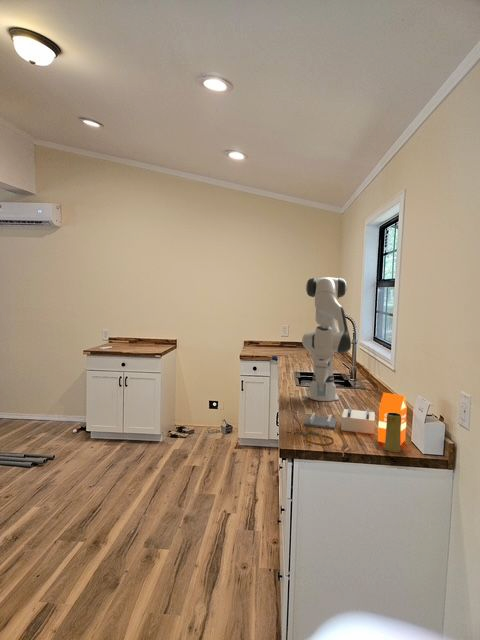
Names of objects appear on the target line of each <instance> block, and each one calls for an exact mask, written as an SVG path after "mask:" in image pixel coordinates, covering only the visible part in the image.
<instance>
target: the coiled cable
mask: <svg viewBox="0 0 480 640" xmlns="http://www.w3.org/2000/svg"><path fill="white" fill-rule="evenodd" d="M309 433H310V434H309ZM299 434H300V435H302V436H303V435H304V437H305V441H306V442H308V443H311V444H313V445H317V446H331V445H332V444H333V443H334V438H333V437H332V436H328V435H325V434H321V433H319V432H318V431H315V430H312V429H311V430H309V431H308V433H307V432H306V431H304V430H300V431H299ZM311 435H312V436H321V437H324V438H328V439H331V442H328V443H319V442H313V441H311V440H309V438H310V436H311ZM333 445H334V444H333Z"/></svg>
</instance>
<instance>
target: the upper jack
mask: <svg viewBox="0 0 480 640" xmlns="http://www.w3.org/2000/svg"><path fill="white" fill-rule="evenodd" d="M375 413H376V412H375V411H370V407H366V410H358V409H352V405H349V406H348V408H344V409H343V412H342V415H341V424H340V425H341V427H340V428H341V431H347V432H354V433H362V434H370V435H375V424H376V422H375V421H376V420H375V419H376V417H375V416H376V414H375Z"/></svg>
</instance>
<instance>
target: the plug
mask: <svg viewBox="0 0 480 640" xmlns="http://www.w3.org/2000/svg"><path fill="white" fill-rule="evenodd" d="M326 395H327V382H324V385H323V391H319V384H318V383H317V396H324V397H326Z"/></svg>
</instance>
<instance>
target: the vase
mask: <svg viewBox="0 0 480 640" xmlns="http://www.w3.org/2000/svg"><path fill="white" fill-rule="evenodd" d="M401 446H402V444H401V414H399V413H394V412H389V413H387V424H386V437H385V443H384V447H383V448H384V450H385V451H387V452H390V453H399V452H401V451H402V449H401Z"/></svg>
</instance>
